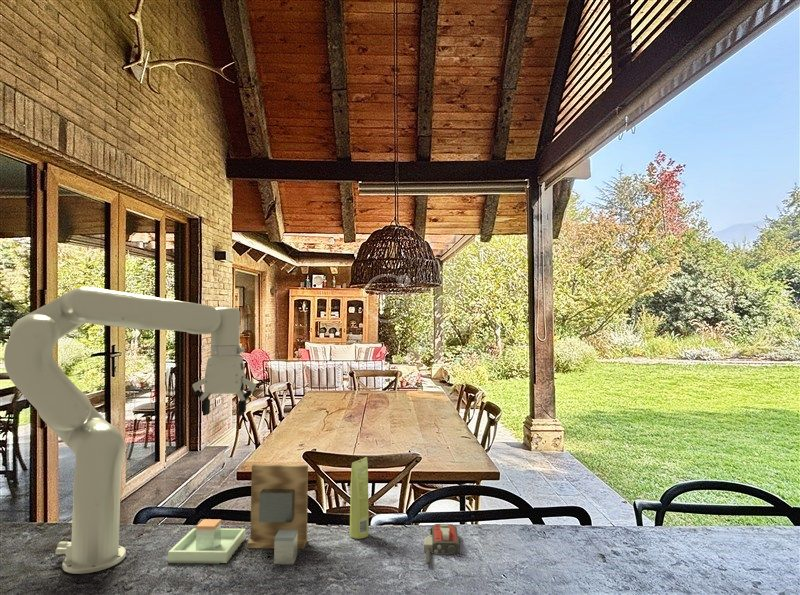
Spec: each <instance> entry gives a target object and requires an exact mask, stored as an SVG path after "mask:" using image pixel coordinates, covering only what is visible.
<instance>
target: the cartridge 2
mask: <svg viewBox="0 0 800 595" xmlns="http://www.w3.org/2000/svg"><path fill="white" fill-rule="evenodd" d="M297 539H298V530H279V531H278V533H277V534H276V536H275V537H274V548H273V549H274V550H273V564H274V565H294V563H295V561H296V560H297V557H298V549H297Z"/></svg>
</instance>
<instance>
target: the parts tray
mask: <svg viewBox="0 0 800 595" xmlns="http://www.w3.org/2000/svg"><path fill="white" fill-rule="evenodd" d="M246 531H247V530H246V528H228V527H227V528H222V527H221V544H220V546H219V547H218V548H217V549H216V550H215V551H196V527H193V528H192V529H191V530H190V531H189V532H187V534H185V535H184V536H183V537H182V538H181V539H180V540H179V541H178V542H177V543H176V544H175V545H173V547H171V549H169V551H168V552H167V563H168V564H219V563H226V564H227V563H229V561H230V559H231V558H232V557H233V556H234V554H235V553H236V552H237V551H238V549H239V548H240V546H241V545H242V544H243V543H244V541H245V540H246V533H247V532H246ZM242 542H243V543H242ZM241 543H242V544H241ZM238 547H239V548H238ZM235 551H236V552H235ZM232 555H233V556H232Z"/></svg>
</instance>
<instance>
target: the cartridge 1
mask: <svg viewBox="0 0 800 595" xmlns="http://www.w3.org/2000/svg"><path fill="white" fill-rule="evenodd" d="M195 528H196V551H215V550H216V549H217V548H218V547H219V546H220V544H221V528H222V519H219V518H218V519H216V518H215V519H211V518H208V519H207V518H204V519H202V520H201V522H199V523H198V524H197V525H196V526H195Z"/></svg>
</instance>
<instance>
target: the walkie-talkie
mask: <svg viewBox="0 0 800 595" xmlns="http://www.w3.org/2000/svg"><path fill="white" fill-rule="evenodd" d="M429 530H430V531H429V535H427V536H425V537H424V540H423V542H424V543H423V553H424V552H426V553H425V558H426V559H425V561H426V562H425V563H426V565H427V566H431V564H432V560H431V553H430V552H433V553H432V554H434V553H435V555H437V554H438V553H449V554H448V555H450V556H452V555H460V550H461V544H460V540H459V535H458V529H457V526H456V525H454V524H452V523H450V524H449V523H436V524H433V525H432V526H431V528H430V529H429Z"/></svg>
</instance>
